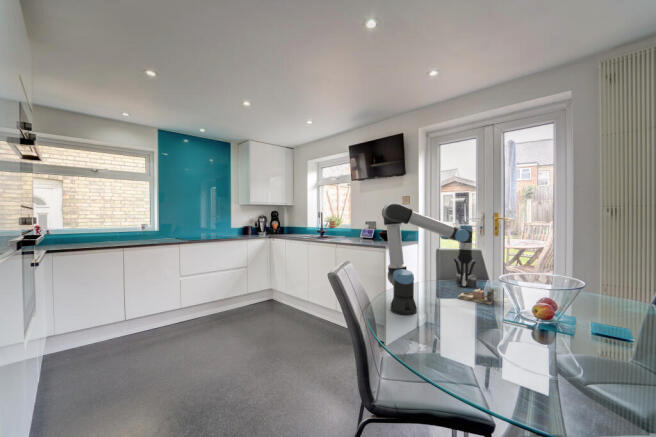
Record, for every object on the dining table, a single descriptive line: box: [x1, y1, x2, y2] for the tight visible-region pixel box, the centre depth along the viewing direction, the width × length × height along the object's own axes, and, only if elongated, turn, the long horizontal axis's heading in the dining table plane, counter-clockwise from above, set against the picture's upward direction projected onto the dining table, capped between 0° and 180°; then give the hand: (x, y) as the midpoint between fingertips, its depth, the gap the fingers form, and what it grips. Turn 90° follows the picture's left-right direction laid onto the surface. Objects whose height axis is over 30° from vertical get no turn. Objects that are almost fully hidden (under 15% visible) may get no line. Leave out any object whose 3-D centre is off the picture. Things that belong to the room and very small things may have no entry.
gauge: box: [472, 288, 485, 299], centre depth 164 cm, size 5×7×5 cm
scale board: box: [457, 287, 495, 305], centre depth 166 cm, size 18×11×7 cm, turn 50°
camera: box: [455, 272, 477, 288], centre depth 196 cm, size 16×10×10 cm, turn 23°
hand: (464, 285), depth 169 cm, fingers closed
